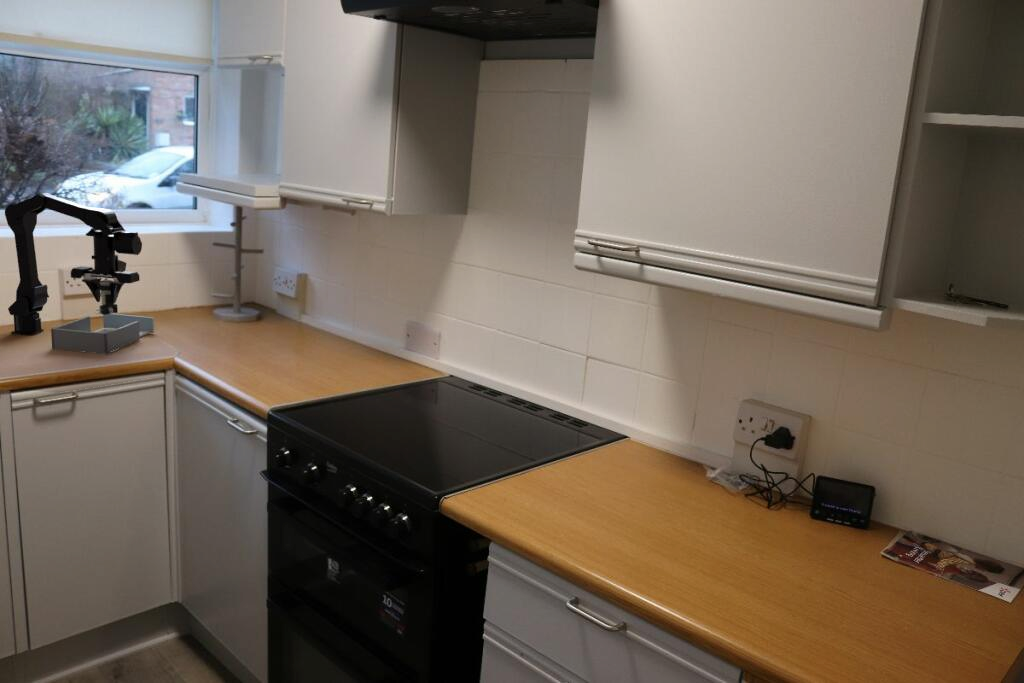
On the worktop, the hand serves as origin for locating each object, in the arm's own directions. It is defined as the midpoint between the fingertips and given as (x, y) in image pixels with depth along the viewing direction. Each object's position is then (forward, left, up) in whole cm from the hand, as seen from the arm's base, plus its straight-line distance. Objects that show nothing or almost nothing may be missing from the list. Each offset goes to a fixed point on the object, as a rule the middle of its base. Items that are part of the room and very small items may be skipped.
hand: (106, 302), depth 247 cm
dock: (0, -6, -12) cm, 13 cm away
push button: (0, 0, -4) cm, 4 cm away
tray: (0, +4, -12) cm, 12 cm away
